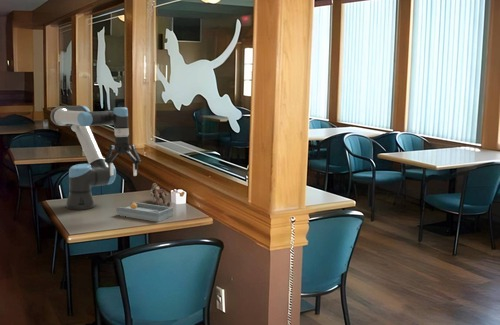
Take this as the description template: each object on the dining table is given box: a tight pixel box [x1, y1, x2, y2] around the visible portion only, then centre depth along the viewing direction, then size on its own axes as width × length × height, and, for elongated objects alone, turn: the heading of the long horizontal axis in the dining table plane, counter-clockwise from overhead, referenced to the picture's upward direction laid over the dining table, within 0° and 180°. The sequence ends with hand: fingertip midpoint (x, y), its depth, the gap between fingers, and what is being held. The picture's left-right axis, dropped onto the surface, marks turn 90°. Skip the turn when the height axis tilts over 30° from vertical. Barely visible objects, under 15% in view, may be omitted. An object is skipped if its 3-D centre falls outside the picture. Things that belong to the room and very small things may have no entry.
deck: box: [116, 201, 174, 223], centre depth 310 cm, size 26×14×4 cm, turn 67°
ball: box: [130, 203, 137, 209], centre depth 312 cm, size 3×3×3 cm
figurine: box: [150, 182, 171, 207], centre depth 336 cm, size 11×10×30 cm
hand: (123, 175), depth 315 cm, fingers open, 13 cm apart
